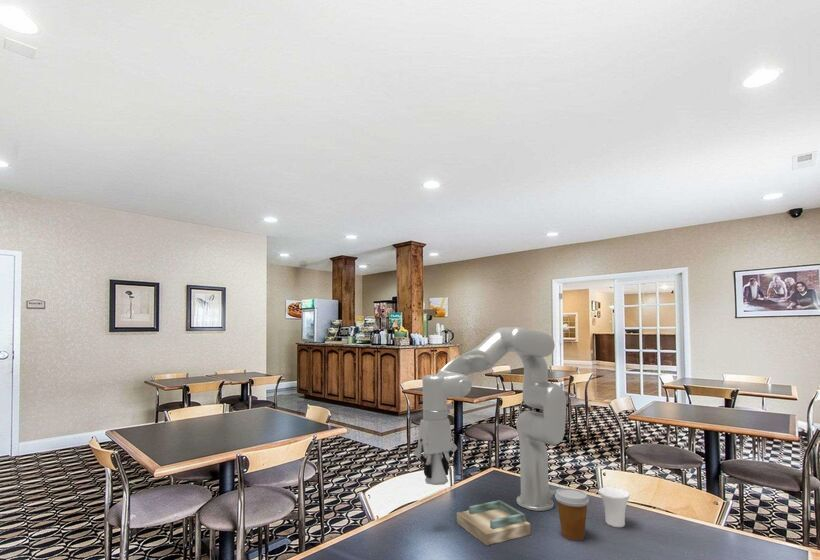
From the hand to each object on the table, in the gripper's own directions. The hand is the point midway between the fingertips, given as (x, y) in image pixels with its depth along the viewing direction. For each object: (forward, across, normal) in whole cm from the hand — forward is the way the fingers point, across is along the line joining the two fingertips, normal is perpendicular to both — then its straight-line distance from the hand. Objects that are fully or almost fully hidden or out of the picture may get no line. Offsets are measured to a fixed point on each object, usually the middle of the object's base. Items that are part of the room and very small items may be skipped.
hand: (436, 474), depth 132 cm
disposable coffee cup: (+17, -35, +20) cm, 44 cm away
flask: (+2, 0, 0) cm, 2 cm away
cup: (+18, -53, +20) cm, 59 cm away
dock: (+17, -16, +6) cm, 24 cm away
